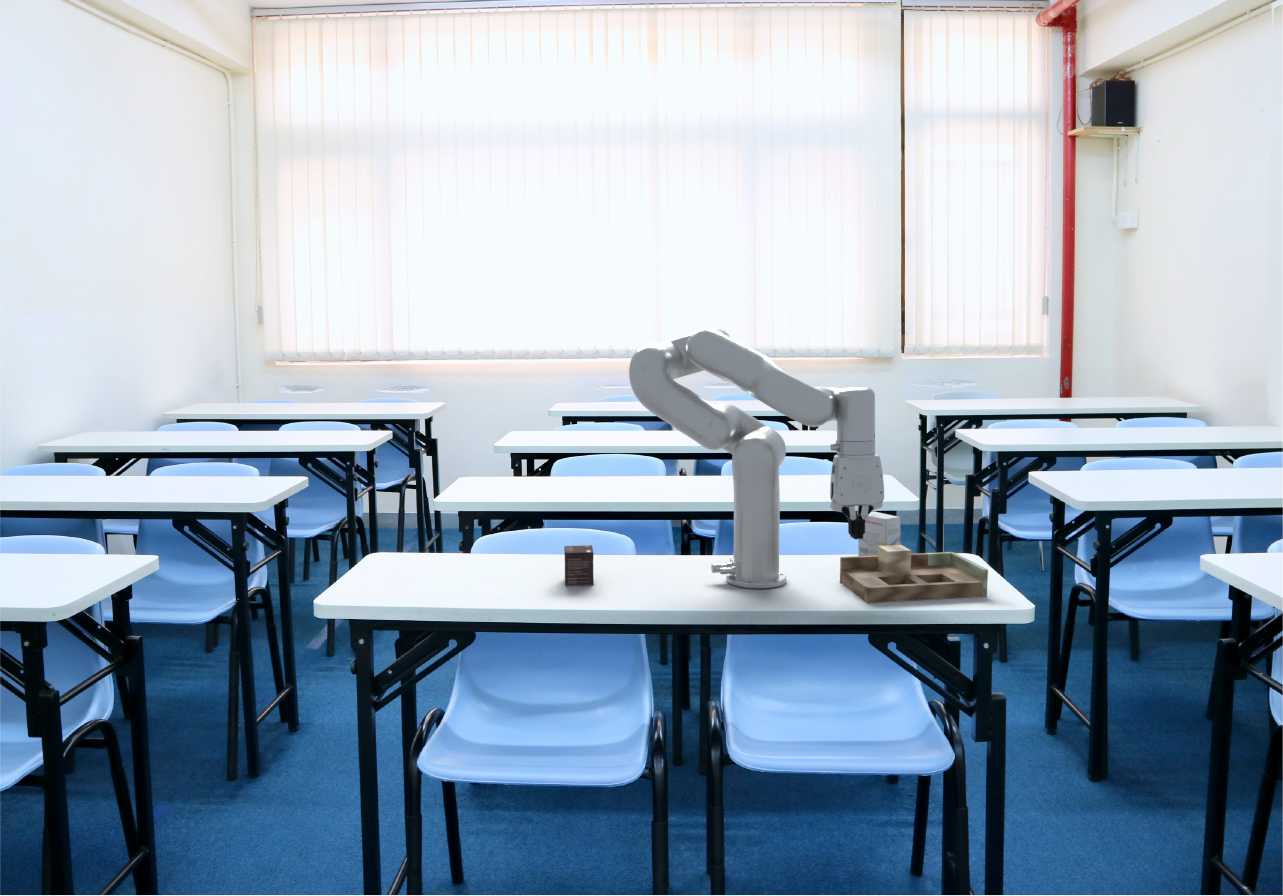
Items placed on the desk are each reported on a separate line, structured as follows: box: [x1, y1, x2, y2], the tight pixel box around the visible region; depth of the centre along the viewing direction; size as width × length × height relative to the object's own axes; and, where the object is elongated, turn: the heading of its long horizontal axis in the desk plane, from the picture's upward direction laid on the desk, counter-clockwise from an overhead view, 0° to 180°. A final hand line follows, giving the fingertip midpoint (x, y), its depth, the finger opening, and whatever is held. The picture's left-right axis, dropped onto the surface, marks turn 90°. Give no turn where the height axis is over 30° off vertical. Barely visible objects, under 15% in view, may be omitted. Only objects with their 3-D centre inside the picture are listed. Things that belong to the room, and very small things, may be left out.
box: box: [564, 544, 595, 587], centre depth 205 cm, size 6×6×7 cm
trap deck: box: [839, 551, 989, 604], centre depth 198 cm, size 25×15×6 cm, turn 98°
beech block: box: [878, 544, 912, 575], centre depth 200 cm, size 5×5×5 cm
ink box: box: [857, 510, 901, 556], centre depth 215 cm, size 9×5×12 cm, turn 34°
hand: (856, 537), depth 198 cm, fingers closed
